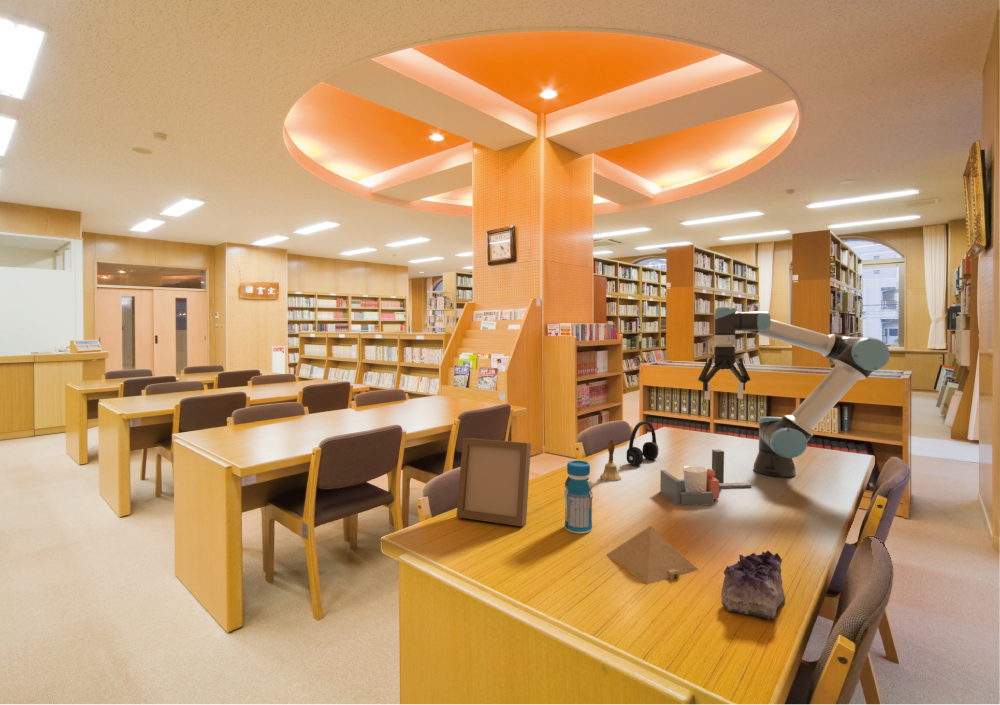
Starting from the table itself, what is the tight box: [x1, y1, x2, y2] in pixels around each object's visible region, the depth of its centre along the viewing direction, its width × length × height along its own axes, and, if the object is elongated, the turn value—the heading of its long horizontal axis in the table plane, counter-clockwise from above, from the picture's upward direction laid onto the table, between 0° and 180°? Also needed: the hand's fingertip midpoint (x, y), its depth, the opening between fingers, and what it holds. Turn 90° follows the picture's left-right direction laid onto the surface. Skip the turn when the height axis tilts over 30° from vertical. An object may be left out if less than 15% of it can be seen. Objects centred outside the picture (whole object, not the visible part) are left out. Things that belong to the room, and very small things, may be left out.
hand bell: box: [600, 438, 622, 482], centre depth 191 cm, size 8×8×16 cm
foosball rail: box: [719, 481, 752, 490], centre depth 179 cm, size 30×3×1 cm, turn 94°
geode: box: [720, 550, 786, 620], centre depth 105 cm, size 20×12×10 cm, turn 139°
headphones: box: [626, 421, 659, 467], centre depth 213 cm, size 20×7×18 cm, turn 133°
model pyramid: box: [606, 525, 699, 585], centre depth 121 cm, size 17×17×10 cm
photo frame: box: [456, 437, 532, 527], centre depth 153 cm, size 15×22×25 cm
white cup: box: [682, 465, 708, 492], centre depth 168 cm, size 8×8×10 cm
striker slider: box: [706, 449, 725, 500], centre depth 173 cm, size 12×15×14 cm
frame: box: [659, 469, 714, 507], centre depth 168 cm, size 12×15×8 cm
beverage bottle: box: [563, 459, 594, 535], centre depth 142 cm, size 8×8×20 cm
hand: (723, 399), depth 189 cm, fingers open, 13 cm apart
